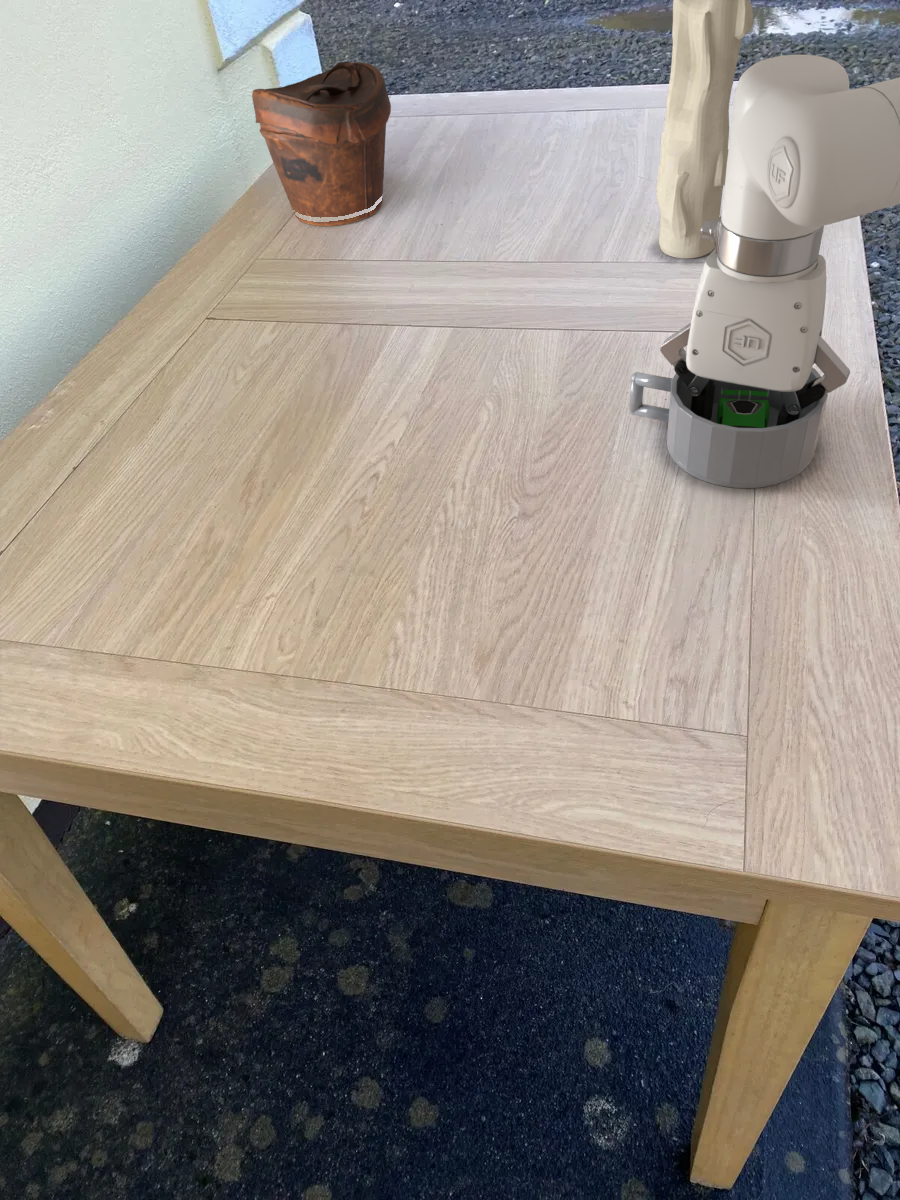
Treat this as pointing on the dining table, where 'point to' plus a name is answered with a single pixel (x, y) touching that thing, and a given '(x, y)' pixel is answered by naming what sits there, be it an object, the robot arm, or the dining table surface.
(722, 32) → the dripping pillar candle
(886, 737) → the dining table surface
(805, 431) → the measuring cup
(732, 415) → the toy car
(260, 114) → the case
